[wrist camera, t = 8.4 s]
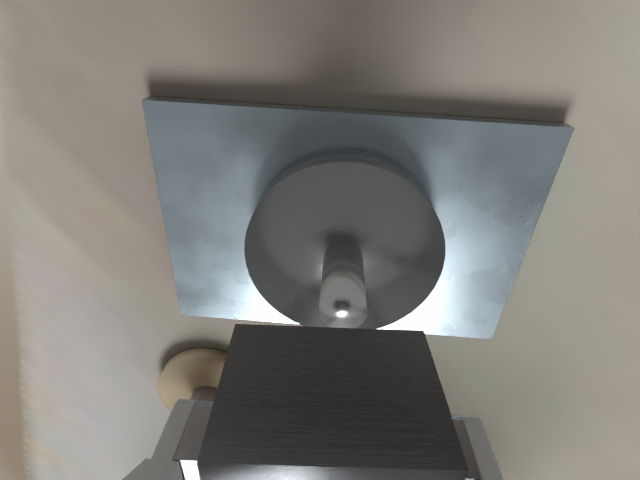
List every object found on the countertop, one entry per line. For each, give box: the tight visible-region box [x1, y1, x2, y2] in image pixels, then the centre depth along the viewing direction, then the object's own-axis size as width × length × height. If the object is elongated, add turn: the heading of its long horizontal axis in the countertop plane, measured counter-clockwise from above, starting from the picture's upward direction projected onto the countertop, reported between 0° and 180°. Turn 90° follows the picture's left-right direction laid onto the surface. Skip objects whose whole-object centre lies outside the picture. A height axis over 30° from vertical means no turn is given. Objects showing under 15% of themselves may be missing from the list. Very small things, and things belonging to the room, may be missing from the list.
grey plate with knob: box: [142, 96, 574, 339], centre depth 17 cm, size 18×12×6 cm, turn 87°
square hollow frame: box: [197, 324, 469, 480], centre depth 10 cm, size 5×5×4 cm
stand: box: [157, 348, 227, 411], centre depth 25 cm, size 7×7×4 cm
